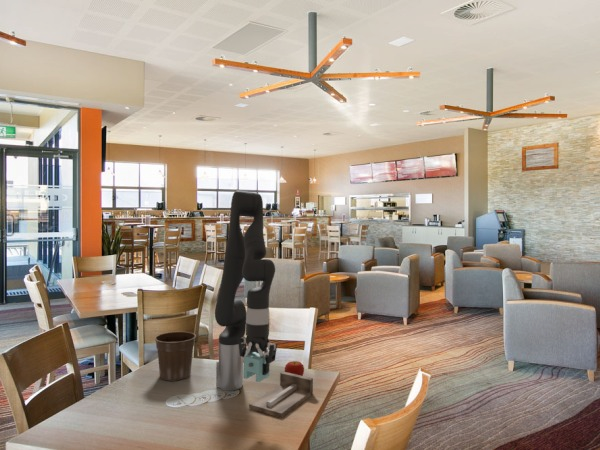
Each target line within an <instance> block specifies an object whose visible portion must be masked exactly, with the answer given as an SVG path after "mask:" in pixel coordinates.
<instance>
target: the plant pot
mask: <svg viewBox="0 0 600 450" xmlns="http://www.w3.org/2000/svg"><path fill="white" fill-rule="evenodd" d="M196 338H197V335H196V334H195V333H194V332H190V331H170V332H169V331H168V332H163V333H160V334H158V335H156V336H154V341H155V345H156V350H157V357H158V358H157V359H158V369H159V373H158V374H159V378H160V379H162V380H164V381H172V382H173V381H180V380H181V379H187V378H189V377H190V376H191V374H192V372H191V371H192V364H193V363H192V361H193V352H194V346H195V341H196V340H195V339H196Z"/></svg>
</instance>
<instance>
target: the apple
mask: <svg viewBox="0 0 600 450" xmlns="http://www.w3.org/2000/svg"><path fill="white" fill-rule="evenodd" d="M284 372H288V373H292V374H296V375H301V376H304V372H305V367H304V364H303V363H302V362H301V361H297V360H295V361H288V362H287V363H286V364H285V367H284Z"/></svg>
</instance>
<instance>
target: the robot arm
mask: <svg viewBox="0 0 600 450" xmlns="http://www.w3.org/2000/svg"><path fill="white" fill-rule="evenodd" d="M263 206H264V203H263V197H262V196H261V194H259V193H258V192H252V191H246V190H235V191H233V194H232V197H231V203H230V215H229V227H228V233H227V234H228V235H227V241H226V247H225V251H224V252H225V254H224V261H223V269H222V276H221V282H220V287H219V291H218V296H217V300H216V304H215V308H214V319H215V321H216V324H218V325H219V326H220V327H225V329H223V331H221V332H220V333H219V336H218V360H217V361H216V363H215V364H216V367H215V368H216V372H215V373H216V374H215V375H216V377H215V379H216V382H215V384H216V385H215V387H217V388H219V389H220V390H222V391H229V392H230V391H237V390H240V389H242V387H243V382H244V381H243V379H244V356H246V355H249V354H252V353H253V352H256V353H259V355H260V357H261V358H263V371H262V374H263V375H266V374H268V372H269V363H270V364H271V363H272V362H275V360H276V356H277V349H278V343H276V342H274V343H272V342H270V340H269V335H270V293H271V292H270V291H271V287H272V283H273V280H274V277H275V273H276V265H275V263H274V261H273V260H272V259H264V258H265V257H266V255H267V249H266V243H265V238H264V237H265V236H264V207H263ZM241 217H246V218H253V221H252V222H251V224H250V226H248V227H247V229H246V231H245V232H244V234H243V231H242V227H241V225H240V224H241V223H240V222H241V221H240V218H241ZM243 280H245V281H247V282H261V284H260V285H259V286H257V287H252V288H250V289H249V290H248V291H247V296H246V298H247V299H246V301H247V302H246V306H245V302H243V301H242V300H241V299H239V298H236V294H237V291H238V288H239V286H240V284H241V283H242V281H243ZM245 336H246V337H245ZM265 357H266V358H265Z"/></svg>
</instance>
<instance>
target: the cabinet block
mask: <svg viewBox="0 0 600 450" xmlns="http://www.w3.org/2000/svg"><path fill="white" fill-rule="evenodd" d="M265 358H266V357H265ZM270 364H271V363H269V372H268V374H266V375H263V374H262V371H263V358H261V357H260V355H259V353H256V352H253V353H252V354H249V355H246V356H244V357H243V379H245V380H246V379H247V380H248V379H249V378H251V377H253V376H255V382H257V383H260V382H261V381H263V380H265V379H267V378H269V377H270V371H271V370H270Z"/></svg>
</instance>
